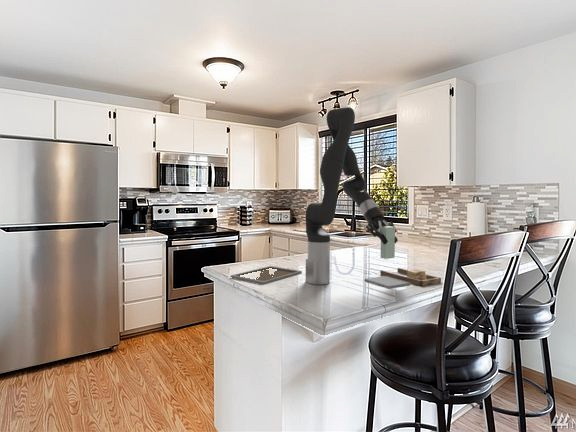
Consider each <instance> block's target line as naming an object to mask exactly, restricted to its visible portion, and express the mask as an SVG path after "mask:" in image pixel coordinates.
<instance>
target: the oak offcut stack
mask: <svg viewBox="0 0 576 432" xmlns="http://www.w3.org/2000/svg"><path fill="white" fill-rule="evenodd" d="M406 270H407V274H408V275H406V277H410V278H414V279H417V280H427V278H426V275H427V274H426V271H425V270H423V269H417V268H416V269H409V270H408V269H406Z"/></svg>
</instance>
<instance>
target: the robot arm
mask: <svg viewBox="0 0 576 432" xmlns="http://www.w3.org/2000/svg"><path fill="white" fill-rule="evenodd" d="M355 121H356V113H355V110H354V109H353V108H352V107H349V106H345V107H338V108H332V109H330V110H328V112H327V114H326V124H327V127H328V130H329V132H330V133H329V134H330V135H331V138H332V140H333V142H332V143H331V144H330V145H329V147H328V148H327V149H326V151H324V153H323V156H322V159H321V162H320V167H319V174H320V179H321V182H322V185H323V196H322V200H321V202H310V203H309V204H308V206H307V207H306V210H305V233H306V236H307V258H306V259H305V283H308V284H311V285H328V284H330V280H331V277H330V276H331V271H330V270H331V269H330V268H331V265H330V263H331V235H330V234H329V233H328V232H326V231H325V230H324V228H323V226H329V225H331V224H333V223H332V222H333V221H334V219H335V215H336V209H337V202H338V201H337V200H338V191H339V187H340V182H341V178H342V177H341V176H342V174H344V175H345V176H347V177H350V176H354V178H351V179H347V180H345V181H344V182H343V183H342V190H343V192H344V193H345V195H347V196H348V198H350V199H351V200H352V201H353V202H355V203H356V205H357V207H358V209H359V210H360V212H361V215H362V216H363V217H364V219H365V220H366V223H367V224H366V225H365V228H366V229H367V230H368V231H369V233H370V234H371V235H372V236H373V237H377V238H378V239H379V240H380V242H381V241H382V243H383V244H386V243H387V242H388V240H387V239H386V237H385V236H384V234H383V232H382V231H381V227H386V226H392V227H395V225H394V222H393V221H389V222H388V221H387V220H386V219H385V215H384V213H383V212H382V210H381V208H380V207H379V205H378V204H377V203H376V202H375V201H374V199H373V198H372V196H371V194H370V193H369V192H368V191H366V187H367V183H366V180H365V179H364V177H363V175H362V173H361V170H360V168H359V164H358V158H357V155H356V153H355V151H354V150H353V149H352V147H351V146H350V145H349V142H350V139H351V136H352V133H353V129H354V126H355ZM342 172H343V173H342ZM396 233H397V229H396V227H395V234H396ZM398 240H399V239H398V238H397V236H396V235H395V244H396V243H397V242H399V241H398Z"/></svg>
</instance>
